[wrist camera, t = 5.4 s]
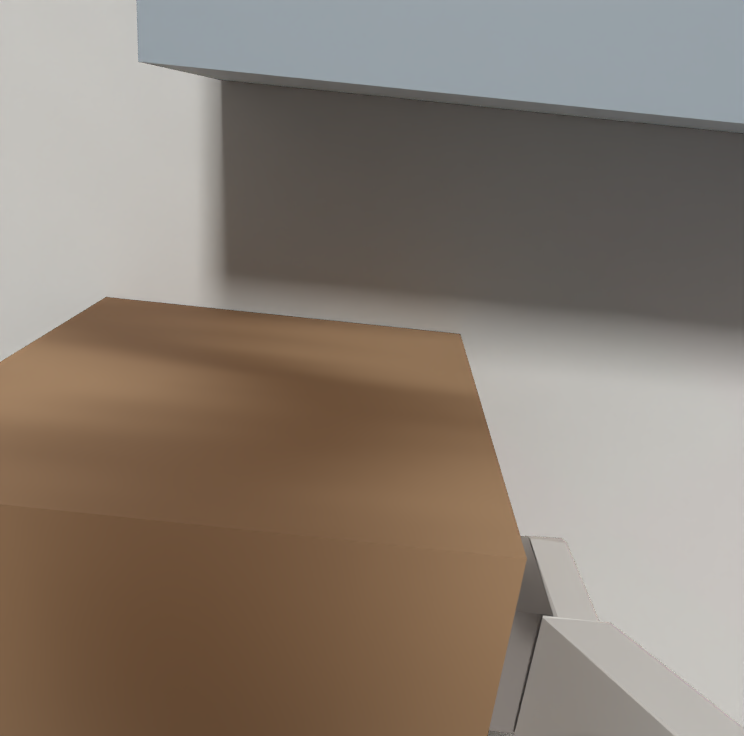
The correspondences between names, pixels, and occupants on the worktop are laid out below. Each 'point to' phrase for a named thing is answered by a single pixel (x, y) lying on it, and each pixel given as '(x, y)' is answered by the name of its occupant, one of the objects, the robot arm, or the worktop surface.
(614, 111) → the plate
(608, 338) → the worktop surface
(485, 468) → the walnut cube
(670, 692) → the robot arm
